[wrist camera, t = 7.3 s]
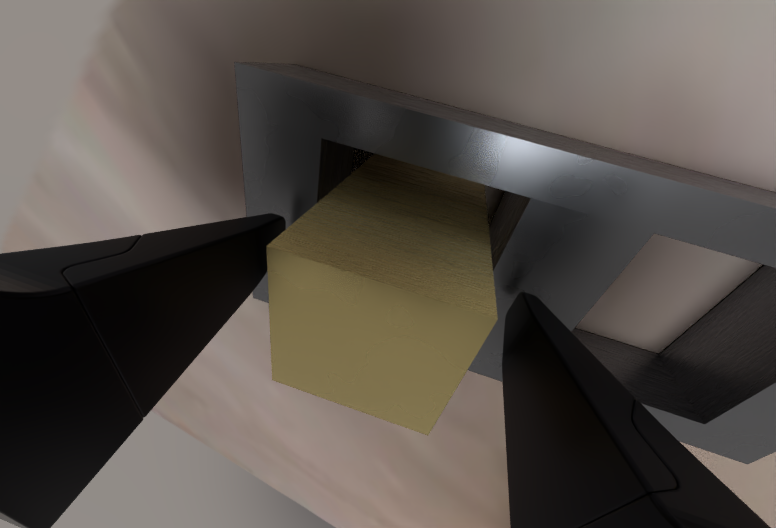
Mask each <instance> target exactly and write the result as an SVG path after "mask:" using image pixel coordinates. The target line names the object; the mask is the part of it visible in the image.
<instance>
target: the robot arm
mask: <svg viewBox="0 0 776 528" xmlns="http://www.w3.org/2000/svg"><path fill="white" fill-rule="evenodd" d="M285 230H286V221H285V218H284V217H283V216H280V215H277V214H273V213H268V214H262V215H256V216H250V217H244V218H238V219H232V220H226V221H220V222H214V223H208V224H202V225H196V226H190V227H184V228H178V229H172V230H166V231H160V232H154V233H148V234H143V235H142V236H141V235H135V236H129V237H123V238H117V239H110V240H104V241H97V242H90V243H83V244H75V245H67V246H60V247H51V248H43V249H35V250H27V251H19V252H10V253H2V254H0V519H2V520H5V521H7V522H9V523H12V524H14V525H16V526H18V527H21V528H51V526H52V525H53V524H54V523H55V522H56V521H57V520H58V519H59V517H60V516H61V515H62V513H64V512H65V510H66V509H67V508H68V507H69V506H70V505H71V503H72V502H73V501H74V500H75V499H76V498H77V496H78V495H79V494H80V493H81V492H82V490H83V489H84V488H85V487H86V486H87V485H88V483H89V482H90V481H91V480H92V479H93V478H94V476H95V475H96V474H97V473H98V472H99V471H100V469H101V468H102V467H103V466H104V465H105V464H106V462H107V461H108V460H109V459H110V458H111V457H112V455H113V454H114V453H115V452H116V451H117V450H118V448H119V447H120V446H121V445H122V444H123V443H124V441H125V440H126V439H127V438H128V437H129V436H130V434H131V433H132V432H133V431H134V430H135V429H136V427H137V426H138V425H139V424H140V423H141V422H142V420H143V417H145V416H146V415H147V414H148V413H149V412H150V411H151V410H152V408H153V407H154V406H155V405H156V404H157V403H158V401H159V400H160V399H161V398H162V397H163V396H164V394H165V393H166V392H167V391H168V390H169V388H170V387H171V386H172V385H173V384H174V383H175V381H176V380H177V379H178V378H179V377H180V376H181V374H182V373H183V372H184V371H185V370H186V369H187V367H188V366H189V365H190V364H191V363H192V362H193V360H194V359H195V358H196V357H197V356H198V355H199V353H200V352H201V351H202V350H203V349H204V348H205V346H206V345H207V344H208V343H209V342H210V341H211V339H212V338H213V337H214V336H215V335H216V334H217V332H218V331H219V330H220V329H221V328H222V327H223V325H224V324H225V323H226V322H227V321H228V320H229V318H230V317H231V316H232V315H233V314H234V313H235V311H236V310H237V309H238V308H239V307H240V306H241V304H242V303H243V302H244V301H245V300H246V299H247V297H248V296H249V295H250V294H251V293H252V291H253V290H254V289H255V288H256V287H257V285H258V284H259V283H260V282H261V280H262V279H263V277H264V276H265V274H266V273H267V271H268V270H267V245H268V244H269V243H271V242H272V241H273V240H274V239H275V238H276V237H278V236H279V235H280V234H281V233H282V232H284V231H285ZM502 379H503V397H504V415H505V434H506V452H507V470H508V488H509V507H510V525H511V528H770V527H769V526H768V525H767V524H766V523H765V522H764V521H763V520H762V519H761V518H760V517H759V516H758V515H757V514H756V513H754V512H753V511H752V510H751V509H750V508H749V507H748V506H747V505H746V504H745V503H744V502H743V501H742V500H741V499H739V498H738V497H737V496H736V495H735V494H734V493H733V492H732V491H731V490H730V489H729V488H728V487H727V486H726V485H725V484H723V483H722V482H721V481H720V480H719V479H718V478H717V477H716V476H715V475H714V474H713V473H712V472H711V471H710V470H708V469H707V468H706V467H705V466H704V465H703V464H702V463H701V462H700V461H699V460H698V459H697V458H696V457H695V456H694V455H693V454H692V453H691V452H690V451H688V450H687V449H686V448H685V447H684V446H683V445H682V444H681V443H680V442H679V441H678V440H677V439H676V438H675V437H674V436H673V435H672V434H671V433H670V432H669V431H668V430H667V429H666V428H665V427H664V426H663V425H662V424H661V423H660V422H659V421H658V420H657V419H656V418H655V417H654V416H653V415H652V414H651V413H650V412H649V411H648V410H647V409H646V408H645V407H644V406H643V405H642V404H641V403H640V402H639V401H638V400H637V399H634V396H633V395H632V394H631V393H630V392H629V391H628V390H627V389H626V388H625V386H624V385H623V384H622V383H621V382H620V381H619V380H618V379H617V378H616V377H615V376H614V375H613V374H612V373H611V372H610V371H609V370H608V369H607V368H606V367H605V366H604V365H603V364H602V363H601V362H600V361H599V360H598V359H597V358H596V357H595V356H594V355H593V354H592V353H591V352H590V351H589V350H588V349H587V347H586V346H585V345H584V344H583V343H582V342H581V341H580V340H579V339H578V338H577V337H576V336H575V335H574V334H573V333H572V332H571V331H570V330H569V329H568V328H567V327H566V326H565V325H564V324H563V323H562V322H561V321H560V320H559V319H558V318H557V317H556V316H555V315H554V314H553V313H552V312H551V310H550V309H549V308H548V307H547V306H546V305H545V304H544V303H543V302H542V301H541V300H540V299H539V298H538V297H537V296H535V295H533V294H530V293H526V292H520V293H519V294H518V295H517V297H516V298H515V300H514V302H513V303H512V305H511V306H510V308H509V310H508V311H507V314H506V317H505V327H504V340H503V354H502Z"/></svg>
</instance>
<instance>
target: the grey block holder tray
mask: <svg viewBox="0 0 776 528" xmlns="http://www.w3.org/2000/svg"><path fill="white" fill-rule="evenodd" d="M234 64H235V76H236V89H237V101H238V114H239V127H240V139H241V152H242V164H243V177H244V189H245V202H246V214H247V217H250V216H256V215H262V214H268V213H273V214H277V215H280V216H283V217H284V218H285V221H286V229H287V228H288V227H289V226H291V225H292V224H293V223H294V222H295V221H296V220H298V219H299V218H300V217H301V216H302V215H304V214H305V213H306V212H307V211H308V210H309V209H311V208H312V207H313V206H314V205H315V204H316V203H318V202H319V201H320V200H321V199H322V198H324V197H325V196H326V195H327V194H328V193H329V192H331V191H332V190H333V189H334V188H335V187H337V186H338V185H339V184H340V183H341V182H342V181H344V180H345V179H346V178H347V177H348V176H349V175H351V167H352V160H353V152H354V148H357V149H361V150H364V151H368V152H371V153H375V154H378V155H382V156H385V157H389V158H392V159H396V160H399V161H403V162H406V163H410V164H413V165H417V166H420V167H424V168H427V169H431V170H434V171H438V172H442V173H445V174H449V175H452V176H456V177H459V178H463V179H466V180H470V181H473V182H477V183H480V184H484V185H487V186H491V187H494V188H498V189H501V190H505V193H504V195H503V198H502V200H501V202H500V204H499V206H498V208H497V211H496V213H495V215H494V217H493V219H492V221H491V224H490V226H489V236H490V246H491V257H492V267H493V277H494V287H495V297H496V307H497V317H498V320H497V321H496V323H495V325H494V326H493V328H492V330H491V331H490V333H489V335H488V336H487V338H486V340H485V341H484V343H483V345H482V346H481V348H480V350H479V351H478V353H477V355H476V356H475V358H474V360H473V361H472V363H471V365H470V366H469V368H468V370H469V371H472V372H475V373H478V374H481V375H484V376H487V377H490V378H493V379H496V380H499V381H502V382H503V379H502V354H503V340H504V327H505V317H506V314H507V311H508V310H509V308H510V306H511V305H512V303H513V302H514V300H515V298H516V297H517V295H518V294H519V293H520V292H526V293H530V294H533V295H535V296H537V297H538V298H539V299H540V300H541V301H542V302H543V303H544V304H545V305H546V306H547V307H548V308H549V309H550V310H551V312H552V313H553V314H554V315H555V316H556V317H557V318H558V319H559V320H560V321H561V322H562V323H563V324H564V325H565V326H566V327H567V328H568V329H569V330H570V331H571V332H572V333H573V334H574V335H575V336H576V337H577V338H578V339H579V340H580V341H581V342H582V343H583V344H584V345H585V346H586V347H587V349H588V350H589V351H590V352H591V353H592V354H593V355H594V356H595V357H596V358H597V359H598V360H599V361H600V362H601V363H602V364H603V365H604V366H605V367H606V368H607V369H608V370H609V371H610V372H611V373H612V374H613V375H614V376H615V377H616V378H617V379H618V380H619V381H620V382H621V383H622V384H623V385H624V386H625V388H626V389H627V390H628V391H629V392H630V393H631V394H632V395H633V396H634V399H637V400H638V401H639V402H640V403H641V404H642V405H643V406H644V407H645V408H646V409H647V410H648V411H649V412H650V413H651V414H652V415H653V416H654V417H655V418H656V419H657V420H658V421H659V422H660V423H661V424H662V425H663V426H664V427H665V428H666V429H667V430H668V431H669V432H670V433H671V434H672V435H673V436H674V437H675V438H676V439H677V440H678V441H680V442H683V443H686V444H689V445H692V446H695V447H698V448H701V449H704V450H706V451H709V452H712V453H715V454H718V455H721V456H724V457H727V458H730V459H733V460H736V461H739V462H742V463H745V464H749V463H752V462H754V461H756V460H758V459H760V458H763V457H765V456H767V455H769V454H772V453H774V452H776V193H775V192H771V191H768V190H764V189H760V188H756V187H753V186H749V185H745V184H741V183H738V182H734V181H730V180H726V179H723V178H719V177H715V176H711V175H708V174H704V173H700V172H696V171H693V170H689V169H685V168H681V167H678V166H674V165H670V164H666V163H663V162H659V161H655V160H651V159H648V158H644V157H640V156H636V155H633V154H629V153H625V152H621V151H618V150H614V149H610V148H606V147H603V146H599V145H595V144H591V143H588V142H584V141H580V140H576V139H573V138H569V137H565V136H561V135H558V134H554V133H550V132H546V131H543V130H539V129H535V128H531V127H528V126H524V125H520V124H516V123H513V122H509V121H505V120H501V119H498V118H494V117H490V116H486V115H483V114H479V113H475V112H471V111H468V110H464V109H460V108H456V107H453V106H449V105H445V104H441V103H438V102H434V101H430V100H426V99H423V98H419V97H415V96H411V95H408V94H404V93H400V92H396V91H393V90H389V89H385V88H381V87H378V86H374V85H370V84H366V83H363V82H359V81H355V80H351V79H348V78H344V77H340V76H336V75H333V74H329V73H325V72H321V71H318V70H314V69H310V68H306V67H303V66H299V65H295V64H275V63H248V62H234ZM654 233H655V234H659V235H662V236H666V237H669V238H673V239H676V240H680V241H683V242H687V243H690V244H694V245H697V246H701V247H704V248H708V249H711V250H715V251H718V252H722V253H725V254H729V255H732V256H736V257H739V258H743V259H746V260H750V261H753V262H757V263H760V264H764V266H763V267H762V268H761V269H759V270H758V271H757V272H756V273H755V274H754V275H752V276H751V277H750V278H749V279H748V280H746V281H745V282H744V283H743V284H742V285H741V286H739V287H738V288H737V289H736V290H735V291H734V292H732V293H731V294H730V295H729V296H728V297H726V298H725V299H724V300H723V301H722V302H721V303H719V304H718V305H717V306H716V307H715V308H714V309H712V310H711V311H710V312H709V313H708V314H706V315H705V316H704V317H703V318H702V319H701V320H699V321H698V322H697V323H696V324H695V325H694V326H692V327H691V328H690V329H689V330H688V331H686V332H685V333H684V334H683V335H682V336H681V337H679V338H678V339H677V340H676V341H675V342H673V343H672V344H671V345H670V346H669V347H668V348H666V349H665V350H664V351H663V352H662V353H661V354H659V355H658V354H655V353H652V352H649V351H646V350H643V349H639V348H636V347H633V346H630V345H627V344H624V343H620V342H617V341H614V340H611V339H608V338H605V337H601V336H598V335H595V334H592V333H589V332H586V331H582V330H579V329H576V328H575V327H576V325H577V324H578V323H579V322H580V321H581V320H582V318H583V317H584V316H585V315H586V314H587V312H588V311H589V310H590V309H591V308H592V306H593V305H594V304H595V303H596V302H597V301H598V299H599V298H600V297H601V296H602V295H603V293H604V292H605V291H606V290H607V289H608V287H609V286H610V285H611V284H612V283H613V281H614V280H615V279H616V278H617V277H618V276H619V274H620V273H621V272H622V271H623V270H624V268H625V267H626V266H627V265H628V264H629V262H630V261H631V260H632V259H633V258H634V257H635V255H636V254H637V253H638V252H639V251H640V249H641V248H642V247H643V246H644V245H645V243H646V242H647V241H648V240H649V239H650V238H651V236H652V235H653V234H654ZM253 298H255V299H258V300H261V301H264V302H267V303H269V293H268V271H267V273H266V274H265V276H264V277H263V279H262V280H261V282H260V283H259V284H258V285H257V287H256V288H255V289H254V290H253Z"/></svg>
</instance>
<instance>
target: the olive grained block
mask: <svg viewBox="0 0 776 528" xmlns="http://www.w3.org/2000/svg"><path fill="white" fill-rule="evenodd" d="M267 270H268V293H269V316H270V339H271V362H272V380H274V381H276V382H279V383H282V384H285V385H288V386H290V387H293V388H296V389H299V390H302V391H304V392H307V393H310V394H313V395H316V396H318V397H321V398H324V399H327V400H330V401H333V402H335V403H338V404H341V405H344V406H347V407H349V408H352V409H355V410H358V411H361V412H363V413H366V414H369V415H372V416H375V417H377V418H380V419H383V420H386V421H389V422H391V423H394V424H397V425H400V426H403V427H406V428H408V429H411V430H414V431H417V432H420V433H422V434H425V435H429V433H430V431H431V430H432V428H433V426H434V425H435V423H436V421H437V420H438V418H439V416H440V415H441V413H442V411H443V410H444V408H445V406H446V405H447V403H448V401H449V400H450V398H451V396H452V395H453V393H454V391H455V390H456V388H457V386H458V385H459V383H460V381H461V380H462V378H463V376H464V375H465V373H466V371H467V370H468V368H469V366H470V365H471V363H472V361H473V360H474V358H475V356H476V355H477V353H478V351H479V350H480V348H481V346H482V345H483V343H484V341H485V340H486V338H487V336H488V335H489V333H490V331H491V330H492V328H493V326H494V325H495V323H496V321H497V320H498V317H497V307H496V297H495V287H494V277H493V267H492V257H491V246H490V236H489V226H488V216H487V206H486V196H485V186H484V184H480V183H477V182H473V181H470V180H466V179H463V178H459V177H456V176H452V175H449V174H445V173H442V172H438V171H434V170H431V169H427V168H424V167H420V166H417V165H413V164H410V163H406V162H403V161H399V160H396V159H392V158H389V157H385V156H382V155H378V154H374V155H373V156H372V157H371V158H369V159H368V160H367V161H366V162H365V163H364V164H362V165H361V166H360V167H359V168H358V169H357V170H355V171H354V172H353V173H352V174H351V175H349V176H348V177H347V178H346V179H345V180H344V181H342V182H341V183H340V184H339V185H338V186H337V187H335V188H334V189H333V190H332V191H331V192H329V193H328V194H327V195H326V196H325V197H324V198H322V199H321V200H320V201H319V202H318V203H316V204H315V205H314V206H313V207H312V208H311V209H309V210H308V211H307V212H306V213H305V214H304V215H302V216H301V217H300V218H299V219H298V220H296V221H295V222H294V223H293V224H292V225H291V226H289V227H288V228H287V229H286V230H285V231H284V232H282V233H281V234H280V235H279V236H278V237H276V238H275V239H274V240H273V241H272V242H271V243H269V244H268V245H267Z"/></svg>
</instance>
